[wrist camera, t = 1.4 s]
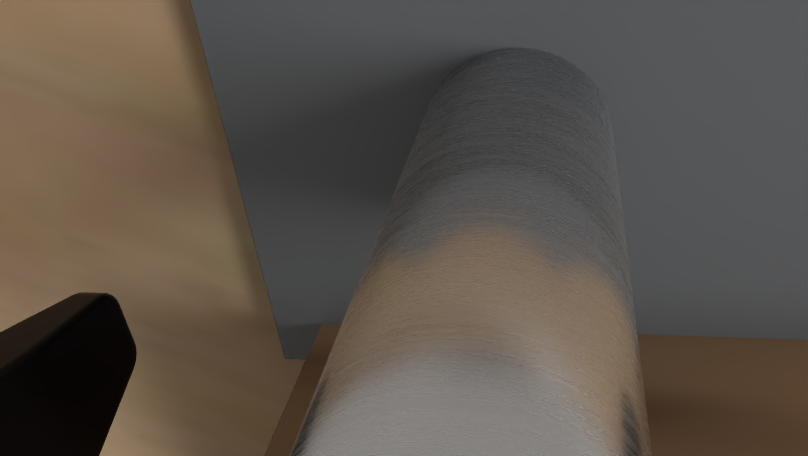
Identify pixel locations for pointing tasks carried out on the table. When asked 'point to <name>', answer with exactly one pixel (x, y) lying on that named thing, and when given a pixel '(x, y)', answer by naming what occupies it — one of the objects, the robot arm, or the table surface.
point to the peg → (494, 284)
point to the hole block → (669, 395)
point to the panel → (631, 123)
